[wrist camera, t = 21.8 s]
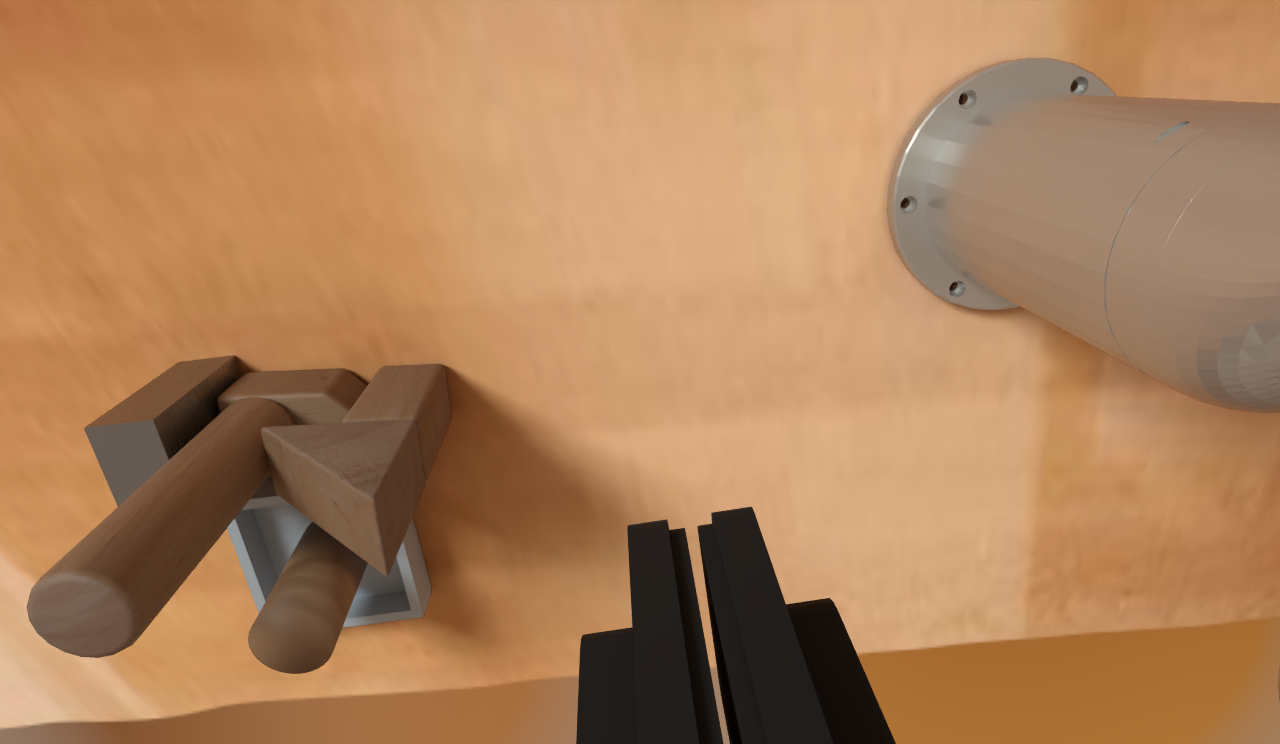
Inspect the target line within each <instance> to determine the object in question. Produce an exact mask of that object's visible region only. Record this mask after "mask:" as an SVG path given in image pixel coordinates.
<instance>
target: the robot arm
mask: <svg viewBox="0 0 1280 744" xmlns="http://www.w3.org/2000/svg"><path fill="white" fill-rule="evenodd" d="M1072 83H1073V86H1072V89H1071V88H1070V87H1071V84H1072ZM961 94H962V95H963V97H964V99H963V102H962V103H961V104H959V97H960V95H961ZM904 198H906V204H905V205H904V206H903V207H900V205H901V201H902V200H903V199H904ZM887 215H888V223H889V231H890V235H891V237H892V240H893V243H894V246H895V249H896V252H897V254H898V256H899V257H900V259H901V260H902V262H903V264H904V265H905V267H906V269H907V270H908V271H909V272H910V273H911V274H912V275H913V277H914V278H915V279H916V280H917V281H918V282H919V283H920V284H921V285H923V286H924V287H926V288H927V289H928V290H930V291H931V292H933V293H934V294H935V295H937V296H939V297H941V298H943V299H945V300H946V301H948V302H950V303H953V304H956V305H960V306H964V307H967V308H971V309H980V310H1002V309H1010V308H1017V307H1020V306H1021V307H1023V308H1024V309H1026V310H1028V311H1030V312H1032V313H1034V314H1035V315H1037V316H1039V317H1041V318H1043V319H1044V320H1046V321H1048V322H1050V323H1052V324H1054V325H1055V326H1057V327H1059V328H1061V329H1063V330H1065V331H1066V332H1068V333H1070V334H1072V335H1074V336H1075V337H1077V338H1079V339H1081V340H1083V341H1085V342H1086V343H1088V344H1090V345H1092V346H1094V347H1096V348H1097V349H1099V350H1101V351H1103V352H1105V353H1107V354H1108V355H1110V356H1112V357H1114V358H1116V359H1117V360H1119V361H1121V362H1123V363H1125V364H1127V365H1129V366H1130V367H1132V368H1134V369H1136V370H1138V371H1140V372H1142V373H1144V374H1146V375H1148V376H1150V377H1152V378H1153V379H1155V380H1157V381H1159V382H1161V383H1163V384H1165V385H1167V386H1168V387H1170V388H1172V389H1174V390H1176V391H1178V392H1180V393H1182V394H1185V395H1187V396H1189V397H1192V398H1194V399H1196V400H1199V401H1201V402H1204V403H1208V404H1211V405H1215V406H1218V407H1222V408H1227V409H1232V410H1239V411H1249V412H1259V413H1280V103H1257V102H1234V101H1211V100H1188V99H1165V98H1142V97H1119V96H1116V94H1115V93H1114V92H1113V90H1112V89H1111V88H1110V87H1109V86H1108V85H1107V84H1106V83H1105V82H1103V81H1102V80H1101V79H1100V78H1098V77H1097V76H1096V75H1095V74H1094V73H1092V72H1090V71H1088V70H1086V69H1084V68H1081V67H1079V66H1077V65H1075V64H1073V63H1069V62H1064V61H1059V60H1055V59H1050V58H1027V59H1018V60H1009V61H1003V62H1000V63H997V64H994V65H991V66H988V67H984V68H981V69H979V70H977V71H975V72H974V73H972V74H970V75H968V76H966V77H964V78H962V79H961V80H959V81H957V82H956V83H954V84H953V85H952V86H951V87H949V88H948V89H947V90H946V91H944V92H943V93H942V94H940V95H939V96H938V97H937V98H936V99H935V100H934V101H933V102H932V103H931V104H930V105H929V106H928V107H927V109H926V110H925V111H924V112H923V113H922V114H921V115H920V116H919V117H918V119H917V121H916V122H915V124H914V125H913V127H912V128H911V130H910V131H909V133H908V134H907V136H906V137H905V139H904V141H903V144H902V146H901V148H900V150H899V153H898V155H897V157H896V160H895V162H894V165H893V169H892V173H891V177H890V182H889V186H888V199H887ZM953 282H954V285H953V287H952V288H950V285H951V284H952V283H953ZM949 288H950V289H949ZM698 535H699V542H700V549H701V556H702V563H703V571H704V578H705V585H706V592H707V599H708V607H709V614H710V621H711V628H712V635H713V642H714V650H715V657H716V664H717V671H718V678H719V685H720V691H721V697H722V703H723V708H724V714H725V719H726V725H727V730H728V735H729V740H730V744H896V743H895V741H894V738H893V736H892V734H891V731H890V729H889V727H888V725H887V722H886V720H885V718H884V716H883V713H882V711H881V709H880V707H879V704H878V702H877V699H876V697H875V695H874V693H873V690H872V688H871V686H870V683H869V681H868V679H867V676H866V674H865V672H864V670H863V667H862V665H861V663H860V660H859V658H858V656H857V653H856V651H855V649H854V647H853V644H852V642H851V640H850V637H849V635H848V633H847V630H846V628H845V626H844V624H843V621H842V619H841V617H840V614H839V612H838V610H837V608H836V606H835V604H834V602H833V601H832V600H831V599H830V598H826V599H820V600H813V601H806V602H800V603H793V604H785V601H784V598H783V595H782V592H781V589H780V586H779V583H778V580H777V577H776V575H775V572H774V569H773V566H772V563H771V560H770V557H769V554H768V551H767V548H766V545H765V542H764V540H763V537H762V534H761V531H760V528H759V525H758V522H757V519H756V516H755V513H754V511H753V508H752V507H747V508H740V509H733V510H727V511H720V512H713V513H712V524H707V525H701V526H698ZM628 548H629V568H630V587H631V606H632V625H633V627H632V628H625V629H619V630H612V631H605V632H599V633H592V634H585V635H583V636H582V638H581V646H580V667H579V692H578V694H579V695H578V716H577V742H576V744H723V740H722V733H721V728H720V722H719V717H718V711H717V706H716V700H715V695H714V689H713V683H712V677H711V672H710V666H709V661H708V655H707V649H706V644H705V638H704V633H703V627H702V621H701V616H700V610H699V605H698V599H697V593H696V588H695V582H694V577H693V571H692V565H691V560H690V554H689V549H688V543H687V537H686V532H685V528H681V529H674V530H669V527H668V521H667V520H661V521H654V522H647V523H641V524H634V525H628ZM1278 686H1279V699H1280V667H1279V679H1278Z"/></svg>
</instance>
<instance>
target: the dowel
mask: <svg viewBox="0 0 1280 744" xmlns="http://www.w3.org/2000/svg"><path fill="white" fill-rule="evenodd" d="M367 564H368V563H367V562H366V561H365V560H363V559H362V558H361V557H359V556H358V555H357V554H355V553H354V552H353V551H351V550H350V549H349V548H347V547H346V546H345V545H343V544H342V543H341V542H339V541H338V540H337V539H335V538H334V537H333V536H331V535H330V534H329V533H327V532H326V531H325V530H323V529H322V528H321V527H319V526H318V525H317V524H316V523H314V522H312V523H311V524H309V525H308V527H307V528H306V530H305V531H304V533H303V535H302V537H301V539H300V540H299V542H298V544H297V546H296V548H295V549H294V551H293V553H292V555H291V557H290V559H289V560H288V562H287V564H286V566H285V568H284V569H283V571H282V573H281V575H280V577H279V578H278V580H277V582H276V584H275V586H274V587H273V589H272V591H271V593H270V595H269V596H268V598H267V600H266V602H265V604H264V605H263V607H262V609H261V611H260V613H259V614H258V616H257V618H256V620H255V622H254V623H253V625H252V627H251V629H250V632H249V636H248V642H249V647H250V649H251V651H252V653H253V654H254V656H255V657H256V658H257V659H258V660H259V661H260V662H261V663H263V664H264V665H266V666H267V667H269V668H271V669H274V670H276V671H280V672H284V673H292V674H299V673H306V672H310V671H313V670H316V669H318V668H320V667H321V666H323V665H324V664H325V663H326V662H327V661H328V660H329V658H330V657H331V655H332V653H333V650H334V647H335V645H336V642H337V640H338V637H339V635H340V632H341V630H342V627H343V625H344V622H345V620H346V617H347V615H348V612H349V610H350V607H351V605H352V602H353V600H354V597H355V595H356V592H357V589H358V587H359V584H360V582H361V579H362V577H363V574H364V572H365V569H366V567H367Z"/></svg>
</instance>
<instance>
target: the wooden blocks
mask: <svg viewBox="0 0 1280 744" xmlns="http://www.w3.org/2000/svg"><path fill="white" fill-rule="evenodd" d="M217 403H218V407H219V410H220V414H219V415H218V416H217V417H216V418H215V419H214V420H213V421H212V422H211V423H209V424H208V425H207V426H206V427H205V428H204V429H203V430H202V431H201V432H200V433H198V434H197V435H196V436H195V437H194V438H193V439H192V440H191V441H190V442H189V443H188V444H186V445H185V446H184V447H183V448H182V449H181V450H180V451H179V452H178V453H177V454H175V455H174V456H173V457H172V458H171V459H170V460H169V461H168V462H167V463H166V464H165V465H163V466H162V467H161V468H160V469H159V470H158V471H157V472H156V473H155V474H154V475H153V476H151V477H150V478H149V479H148V480H147V481H146V482H145V483H144V484H143V485H142V486H140V487H139V488H138V489H137V490H136V491H135V492H134V493H133V494H132V495H131V496H130V497H128V498H127V499H126V500H125V501H124V502H123V503H122V504H121V505H120V506H119V507H118V508H116V509H115V510H114V511H113V512H112V513H111V514H110V515H109V516H108V517H107V518H105V519H104V520H103V521H102V522H101V523H100V524H99V525H98V526H97V527H96V528H95V529H93V530H92V531H91V532H90V533H89V534H88V535H87V536H86V537H85V538H84V539H82V540H81V541H80V542H79V543H78V544H77V545H76V546H75V547H74V548H73V549H72V550H70V551H69V552H68V553H67V554H66V555H65V556H64V557H63V558H62V559H61V560H60V561H58V562H57V563H56V564H55V565H54V566H53V567H52V568H51V569H50V570H49V571H47V572H46V573H45V574H44V575H43V576H42V577H41V578H40V579H39V580H38V582H37V583H36V584H35V585H34V587H33V588H32V589H31V592H30V596H29V600H28V604H27V611H28V616H29V621H30V622H31V624H32V625H33V627H34V629H35V630H36V632H37V633H38V634H39V635H40V636H41V637H42V638H43V639H45V640H46V641H47V642H48V643H49V644H51V645H52V646H54V647H56V648H58V649H60V650H62V651H64V652H66V653H70V654H73V655H77V656H80V657H95V658H99V657H104V656H109V655H114V654H116V653H118V652H120V651H122V650H124V649H125V648H127V647H129V646H131V645H133V644H134V642H135V641H136V640H137V639H138V638H139V637H140V636H141V634H142V633H143V632H144V631H145V629H146V628H147V627H148V626H149V624H150V623H151V622H152V621H153V620H154V618H155V617H156V616H157V615H158V613H159V612H160V611H161V610H162V608H163V607H164V606H165V605H166V603H167V602H168V601H169V600H170V598H171V597H172V596H173V595H174V593H175V592H176V591H177V590H178V588H179V587H180V586H181V585H182V583H183V582H184V581H185V580H186V578H187V577H188V576H189V575H190V574H191V572H192V571H193V570H194V569H195V567H196V566H197V565H198V564H199V562H200V561H201V560H202V559H203V557H204V556H205V555H206V554H207V552H208V551H209V550H210V549H211V547H212V546H213V545H214V544H215V542H216V541H217V540H218V539H219V537H220V536H221V535H222V534H223V532H224V531H225V530H226V529H227V527H228V526H229V525H230V524H231V523H232V521H233V520H234V519H235V518H236V516H237V515H238V514H239V513H240V511H241V510H242V509H243V508H244V506H245V505H246V504H247V503H248V501H249V500H250V499H251V498H252V496H253V495H254V494H255V493H256V491H257V490H258V489H259V488H260V486H261V485H262V484H263V483H264V481H265V480H266V479H267V478H268V476H269V475H270V474H271V477H272V481H273V485H274V489H275V493H276V494H277V495H278V496H280V497H281V498H282V499H284V500H285V501H286V502H288V503H289V504H290V505H292V506H293V507H294V508H296V509H297V510H298V511H300V512H301V513H302V514H304V515H305V516H306V517H308V518H309V519H310V520H312V521H313V522H314V523H316V524H317V525H318V526H319V527H321V528H322V529H323V530H325V531H326V532H327V533H329V534H330V535H331V536H333V537H334V538H335V539H337V540H338V541H339V542H341V543H342V544H343V545H345V546H346V547H347V548H349V549H350V550H351V551H353V552H354V553H355V554H357V555H358V556H359V557H361V558H362V559H363V560H365V561H366V562H367V563H369V564H370V565H371V566H373V567H374V568H375V569H377V570H378V571H379V572H381V573H382V574H383V575H385V576H388V575H389V573H390V571H391V569H392V566H393V564H394V561H395V559H396V556H397V554H398V551H399V549H400V547H401V544H402V542H403V539H404V537H405V534H406V532H407V529H408V527H409V525H410V522H411V520H412V517H413V515H414V512H415V510H416V507H417V505H418V502H419V500H420V498H421V495H422V493H423V490H424V488H425V481H426V480H427V478H428V475H429V473H430V470H431V468H432V466H433V463H434V461H435V458H436V456H437V453H438V451H439V448H440V446H441V444H442V441H443V439H444V436H445V434H446V431H447V429H448V426H449V424H450V421H451V418H452V415H451V408H450V400H449V392H448V385H447V377H446V370H445V368H444V366H443V365H441V364H427V365H404V366H384V367H382V368H380V369H379V371H378V372H377V373H376V375H375V376H374V377H373V379H372V380H371V382H370V383H369V384H368V385H366V384H365V383H363V382H362V381H361V380H359V379H358V378H357V377H355V376H354V375H353V374H351V373H350V372H349V371H347V370H346V369H317V370H294V371H271V372H248V373H246V374H244V375H243V376H242V377H240V378H239V379H238V380H237V381H236V382H235V383H233V384H232V385H231V386H230V387H229V388H228V389H226V390H225V391H224V392H223V393H222V394H221V395H220V396H218V401H217Z"/></svg>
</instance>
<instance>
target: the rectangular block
mask: <svg viewBox="0 0 1280 744" xmlns="http://www.w3.org/2000/svg"><path fill="white" fill-rule="evenodd" d="M240 377H242V376H241V373H240V370H239V367H238V364H237V361H236V358H235V356H226V357H218V358H210V359H202V360H193V361H185V362H178V363H177V364H175V365H174V366H172V367H171V368H170V369H168V370H167V371H165V372H164V373H162V374H161V375H160V376H158V377H157V378H155V379H154V380H152V381H151V382H149V383H148V384H147V385H145V386H144V387H142V388H141V389H139V390H138V391H137V392H135V393H134V394H132V395H131V396H129V397H128V398H127V399H125V400H124V401H122V402H121V403H119V404H118V405H116V406H115V407H114V408H112V409H111V410H109V411H108V412H106V413H105V414H104V415H102V416H101V417H99V418H98V419H96V420H95V421H93V422H92V423H91V424H89V425H88V426H86V427H85V428H84V429H85V432H86V434H87V436H88V439H89V441H90V443H91V446H92V448H93V450H94V452H95V455H96V457H97V459H98V462H99V464H100V466H101V469H102V471H103V473H104V476H105V478H106V480H107V482H108V485H109V487H110V489H111V492H112V494H113V496H114V499H115V501H116V503H117V506H118V507H119V506H120V505H121V504H122V503H123V502H124V501H125V500H126V499H127V498H128V497H130V496H131V495H132V494H133V493H134V492H135V491H136V490H137V489H138V488H139V487H140V486H142V485H143V484H144V483H145V482H146V481H147V480H148V479H149V478H150V477H151V476H153V475H154V474H155V473H156V472H157V471H158V470H159V469H160V468H161V467H162V466H163V465H165V464H166V463H167V462H168V461H169V460H170V459H171V458H172V457H173V456H174V455H175V454H177V453H178V452H179V451H180V450H181V449H182V448H183V447H184V446H185V445H186V444H188V443H189V442H190V441H191V440H192V439H193V438H194V437H195V436H196V435H197V434H198V433H200V432H201V431H202V430H203V429H204V428H205V427H206V426H207V425H208V424H209V423H211V422H212V421H213V420H214V419H215V418H216V417H217V416H218V415H219V414H220V410H219V407H218V403H217V401H218V396H220V395H221V394H222V393H223V392H224V391H225V390H226V389H228V388H229V387H230V386H231V385H232V384H233V383H235V382H236V381H237V380H238V379H239V378H240Z"/></svg>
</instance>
